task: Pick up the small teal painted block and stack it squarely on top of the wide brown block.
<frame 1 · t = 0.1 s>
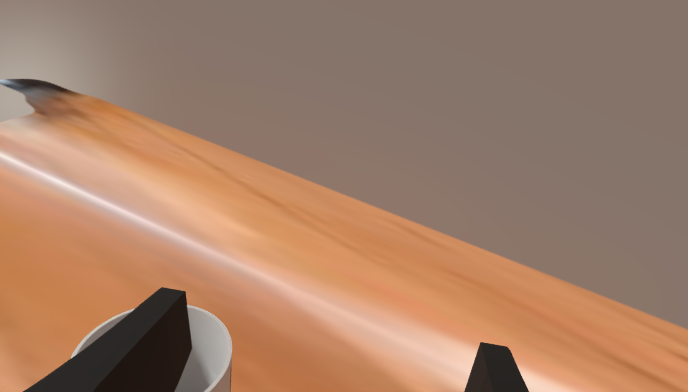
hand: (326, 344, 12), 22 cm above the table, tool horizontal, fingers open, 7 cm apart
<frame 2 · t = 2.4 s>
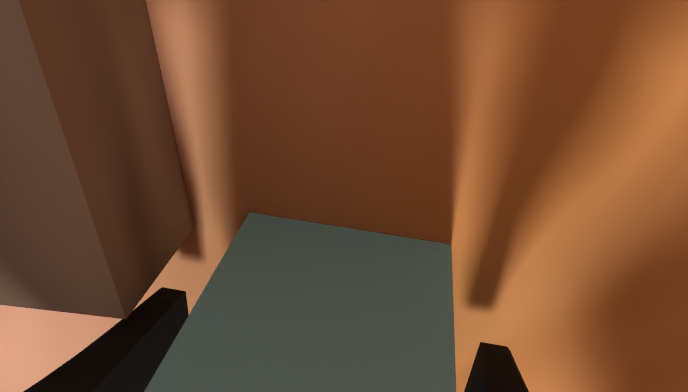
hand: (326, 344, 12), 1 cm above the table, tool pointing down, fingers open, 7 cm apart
teal block: (340, 301, 14), on the table
brown block: (20, 61, 12), on the table
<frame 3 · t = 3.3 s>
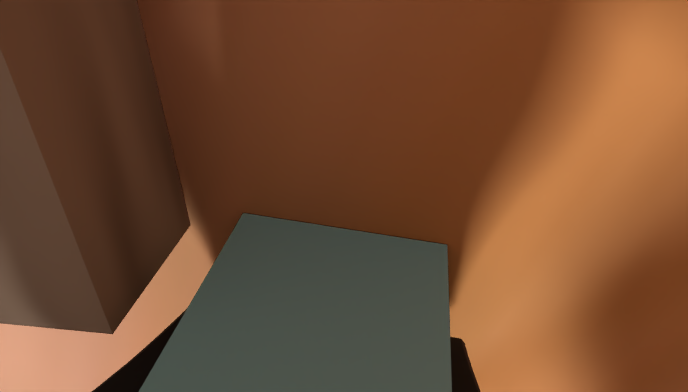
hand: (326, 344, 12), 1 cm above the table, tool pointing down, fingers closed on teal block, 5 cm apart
teal block: (336, 303, 13), on the table, touching gripper
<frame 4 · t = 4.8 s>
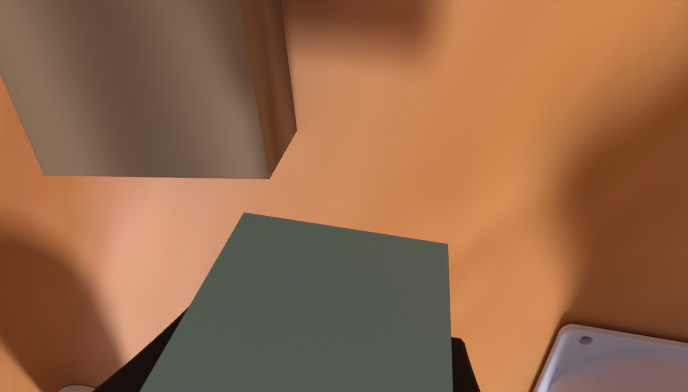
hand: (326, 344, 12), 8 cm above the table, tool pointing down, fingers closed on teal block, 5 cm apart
teal block: (336, 303, 14), point 7 cm above the table, touching gripper
brown block: (175, 23, 18), on the table
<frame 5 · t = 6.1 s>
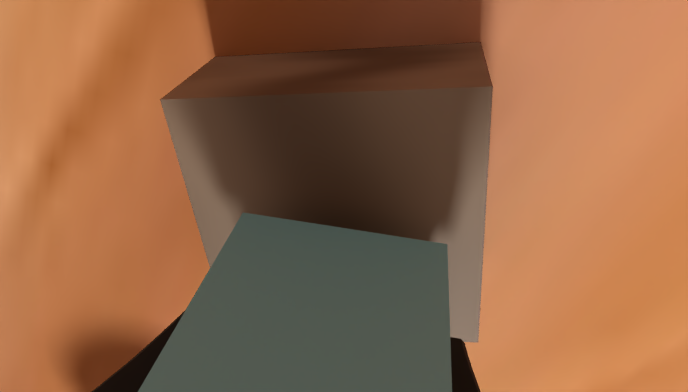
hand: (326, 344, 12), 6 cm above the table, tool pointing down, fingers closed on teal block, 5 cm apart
teal block: (336, 303, 13), point 5 cm above the table, touching gripper
brown block: (354, 164, 17), on the table
when the fingers open (6 cm above the table, at t = 6.6 s): teal block drops 1 cm, point 4 cm above the table.
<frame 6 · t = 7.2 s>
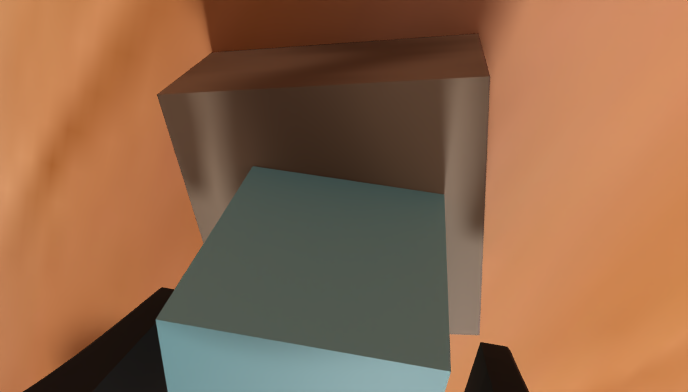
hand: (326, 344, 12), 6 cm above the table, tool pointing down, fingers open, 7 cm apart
teal block: (339, 255, 14), point 4 cm above the table
brown block: (353, 158, 17), on the table
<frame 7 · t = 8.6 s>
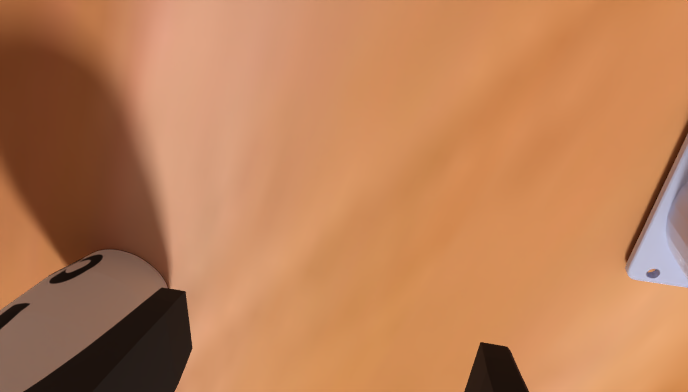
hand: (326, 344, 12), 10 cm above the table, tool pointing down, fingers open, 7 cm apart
cup: (128, 283, 28), on the table
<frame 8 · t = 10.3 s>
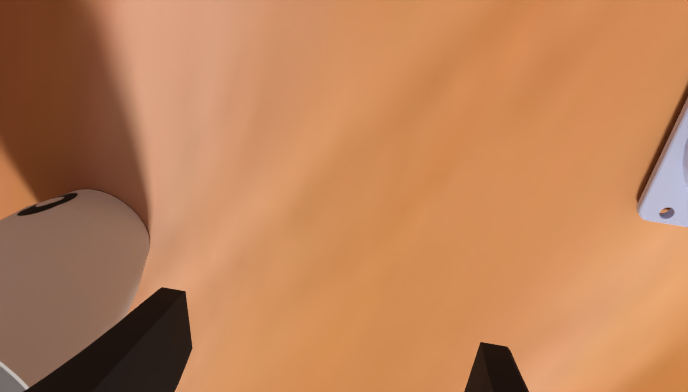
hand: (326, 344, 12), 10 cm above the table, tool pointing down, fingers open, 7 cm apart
cup: (106, 228, 26), on the table
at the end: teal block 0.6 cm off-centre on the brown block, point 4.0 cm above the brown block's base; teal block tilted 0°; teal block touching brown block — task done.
